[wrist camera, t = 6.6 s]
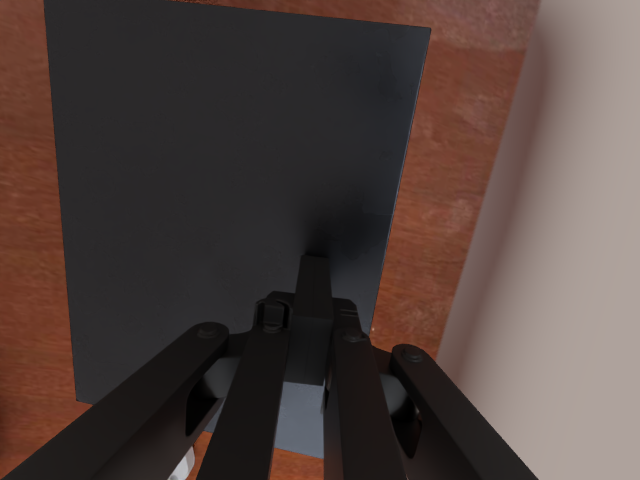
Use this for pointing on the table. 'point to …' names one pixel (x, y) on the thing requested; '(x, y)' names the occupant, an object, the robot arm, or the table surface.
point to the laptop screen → (220, 172)
